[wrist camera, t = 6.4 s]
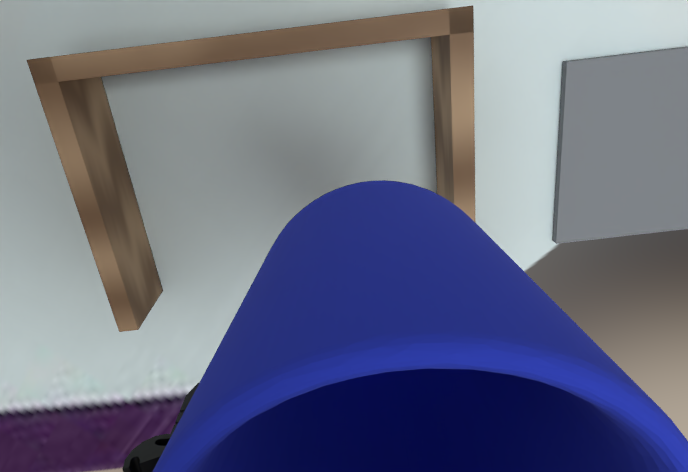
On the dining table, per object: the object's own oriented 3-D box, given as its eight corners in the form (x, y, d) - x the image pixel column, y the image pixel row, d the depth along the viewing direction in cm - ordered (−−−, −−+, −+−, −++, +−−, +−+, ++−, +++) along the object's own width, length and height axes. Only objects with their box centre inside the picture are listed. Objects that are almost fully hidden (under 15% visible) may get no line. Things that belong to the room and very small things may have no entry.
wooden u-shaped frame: (73, 54, 29) (26, 59, 25) (450, 9, 29) (473, 5, 25) (146, 292, 36) (119, 331, 31) (456, 257, 35) (475, 292, 31)
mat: (562, 61, 30) (567, 62, 30) (760, 37, 30) (768, 38, 30) (552, 240, 35) (556, 243, 35) (723, 220, 35) (730, 223, 34)
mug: (391, 473, 20) (436, 866, 10) (198, 237, 16) (-6, 531, 7) (587, 382, 18) (845, 753, 9) (424, 92, 14) (582, 211, 5)
